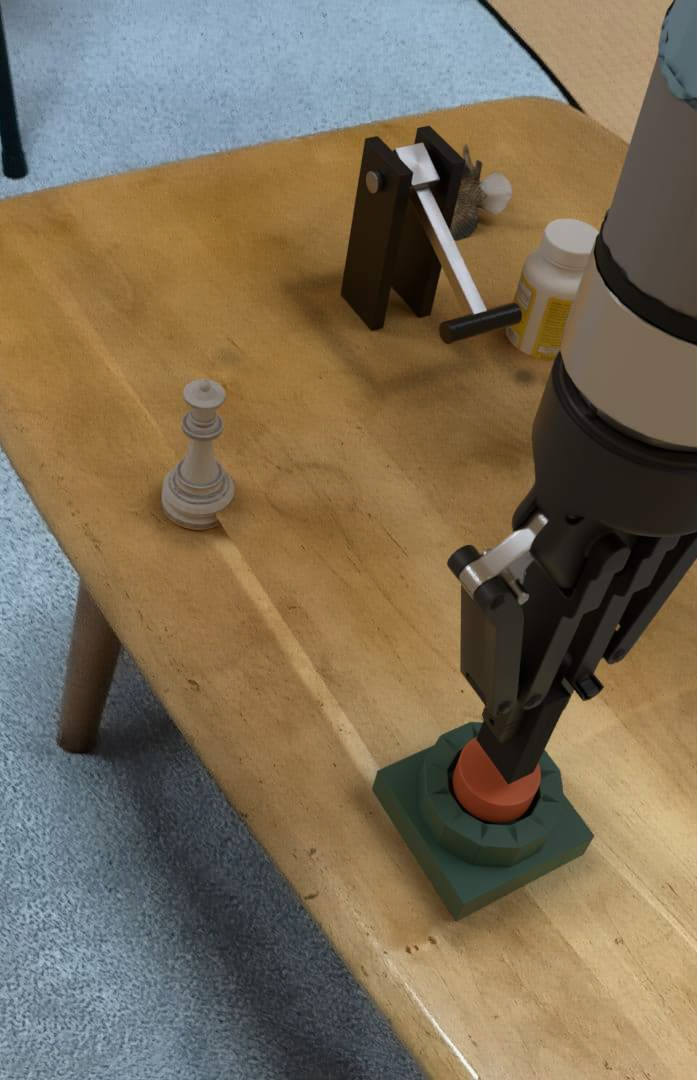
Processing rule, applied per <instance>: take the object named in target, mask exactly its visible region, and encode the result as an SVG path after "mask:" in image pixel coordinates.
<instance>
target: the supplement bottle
mask: <svg viewBox="0 0 697 1080" xmlns="http://www.w3.org/2000/svg"><path fill="white" fill-rule="evenodd" d="M598 234H599V230H598V229H597V228H595V227H594V226H593V225H591V224H589V223H587V222H584V221H582V220H578V219H575V218H557V219H554V220H552V221H551V222H549V223H548V224H546V226H545V228H544V230H543V235H542V238H541V240H540V245H539V246H537V247H536V248H535V249H533V250H531V251H530V252H529V254H528V255H527V256H526V257H525V260H524V262H523V266H522V269H521V273H520V276H519V280H518V283H517V287H516V290H515V293H514V296H513V300H512V302H514V303H517V304H518V305H519V307H520V309H521V312H522V320H521V322H520V323H519V324H517V325H513V326H510V327H506V328H505V334H506V336H507V339H508V340H509V341H510V343H511V344H512V345H513V346H514V347H515V348H516V349H517V350H518V351H521V352H522V353H523V354H526V355H528V356H529V357H532V358H535V359H538V360H544V361H554V360H555V358H556V356H557V354H558V352H559V351H560V347H561V342H562V336H563V331H564V326H565V324H566V321H567V318H568V315H569V312H570V309H571V307H572V304H573V301H574V298H575V295H576V292H577V290H578V287H579V284H580V281H581V278H582V276H583V273H584V270H585V267H586V264H587V261H588V259H589V256H590V253H591V250H592V247H593V245H594V242H595V239H596V236H597V235H598Z"/></svg>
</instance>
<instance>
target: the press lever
mask: <svg viewBox="0 0 697 1080" xmlns="http://www.w3.org/2000/svg"><path fill="white" fill-rule="evenodd" d="M392 151H393V152H394V153H395V154H396V155H397V156H398V157H399V158H400V159H401V160H402V161H403V162H404V163H405V164H406V165H407V166H408V167H409V168H410V169H411V170H412V171H413V178H412V183H411V188H410V193H409V199H408V203H412V204H413V206H414V208H415V210H416V212H417V214H418V217H419V219H420V221H421V223H422V225H423V227H424V229H425V232H426V234H427V236H428V238H429V240H430V242H431V244H432V246H433V249H434V251H435V253H436V255H437V257H438V259H439V261H440V264H441V266H442V268H441V269H442V270H443V272H444V275H445V277H446V278H447V280H448V283H449V285H450V287H451V289H452V292H453V294H454V295H455V298H456V299H457V302H458V304H459V306H460V308H461V311H462V313H463V315H462V316H459V317H455V318H452V319H448V320H444V321H442V322H440V324H439V327H438V333H439V336H440V339H441V341H442V343H444V344H445V345H451V344H455V343H457V342H461V341H465V340H468V339H472V338H475V337H479V336H482V335H486V334H489V333H492V332H495V331H500V330H503V329H506V327H510V326H513V325H517V324H519V323H520V322H521V320H522V312H521V309H520V307H519V305H518V304H517V303H514V302H513V301H512V302H509V303H505V304H501V305H497V306H495V307H491V308H487V306H486V304H485V302H484V300H483V298H482V296H481V293H480V292H479V290H478V287H477V286H476V283H475V281H474V279H473V277H472V275H471V273H470V270H469V268H468V266H467V264H466V262H465V260H464V258H463V255H462V253H461V252H460V249H459V247H458V245H457V242H456V241H454V239H453V237H452V234H451V232H450V230H449V228H448V226H447V224H446V222H445V220H444V217H443V215H442V213H441V211H440V209H439V207H438V205H437V203H436V201H435V198H434V196H433V194H432V190H433V189H434V188H435V186H436V185H437V183H438V182H439V181H440V177H439V175H438V173H437V171H436V169H435V167H434V165H433V163H432V160H431V158H430V156H429V154H428V152H427V150H426V148H425V146H424V144H423V143H418V144H414V143H413V144H409V145H404V146H399V147H395V148H393V149H392Z"/></svg>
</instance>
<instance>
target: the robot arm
mask: <svg viewBox="0 0 697 1080" xmlns="http://www.w3.org/2000/svg"><path fill="white" fill-rule="evenodd" d="M657 45H658V51H657V54H656V58H655V61H654V66H653V68H652V72H651V75H650V78H649V81H648V84H647V88H646V91H645V95H644V98H643V101H642V104H641V107H640V111H639V112H638V113H639V114H638V116H637V120H636V123H635V127H634V130H633V133H632V136H631V140H630V142H629V146H628V148H627V152H626V155H625V159H624V162H623V165H622V168H621V172H620V175H619V178H618V182H617V185H616V188H615V190H614V194H613V197H612V201H611V204H610V207H609V208H608V209H607V210H606V211H605V214H604V217H603V221H602V223H601V224H600V228H599V230H598V232H599V234H598V235H597V236H596V239H595V242H594V245H593V247H592V250H591V253H590V256H589V259H588V261H587V264H586V267H585V270H584V273H583V276H582V278H581V281H580V284H579V287H578V290H577V292H576V295H575V298H574V301H573V304H572V307H571V309H570V312H569V315H568V318H567V321H566V324H565V326H564V331H563V336H562V342H561V347H560V351H559V352H558V354H557V356H556V358H555V360H553V364H552V366H551V369H550V372H549V375H548V378H547V381H546V383H545V387H544V389H543V393H542V395H541V399H540V402H539V405H538V407H537V411H536V413H535V416H534V419H533V423H532V429H531V449H532V457H533V466H534V483H533V485H532V486H531V488H530V490H529V491H528V493H527V494H526V495H525V497H523V499H522V500H521V501H520V503H519V504H518V505H517V507H516V508H515V510H514V512H513V515H512V519H511V530H512V533H510V534H509V535H508V536H507V537H506V538H504V539H503V540H501V542H499V543H498V544H496V545H495V546H494V547H489V548H486V549H485V550H483V551H482V552H481V553H480V552H479V550H478V549H477V547H476V546H474V545H472V544H466V545H463V546H461V547H459V548H457V549H456V550H455V551H454V552H453V553H452V554H451V555H450V556H449V558H447V562H446V565H447V568H448V569H449V570H450V572H451V573H452V574H453V575H454V577H455V578H456V579H457V581H458V582H459V584H460V645H459V646H460V647H459V648H460V653H459V655H460V657H459V659H460V661H459V671H460V674H461V675H462V677H464V678H465V680H466V681H467V683H468V685H469V686H470V687H471V688H472V689H473V691H474V693H475V694H476V695H477V697H478V698H479V700H480V701H481V702H482V703H483V705H484V707H483V710H482V712H481V716H482V720H483V721H482V726H481V728H480V731H479V733H478V736H477V738H476V740H477V741H478V743H479V744H480V746H481V747H482V748H483V750H484V751H485V753H486V754H487V756H488V757H489V758H490V760H491V761H492V763H493V764H494V765H495V767H496V768H497V770H498V771H499V772H500V774H501V775H502V777H503V778H504V779H505V781H506V782H507V784H508V785H509V784H511V783H513V782H515V781H517V780H519V779H521V778H523V777H525V776H527V775H529V774H531V773H533V772H534V770H535V768H536V766H537V764H538V762H539V760H540V758H541V756H542V754H543V752H544V750H545V751H546V747H547V745H548V744H549V741H550V740H551V737H552V735H553V734H554V731H555V728H557V727H556V726H557V725H558V722H559V720H560V719H561V716H562V714H563V712H564V711H565V709H566V708H567V707H568V704H569V702H570V700H571V698H572V696H573V695H574V692H575V693H576V694H577V695H578V696H579V698H580V700H581V701H582V702H587V701H590V700H592V699H593V698H595V697H596V696H597V695H599V694H600V693H601V692H602V691H603V690H604V688H605V686H604V684H602V682H601V681H600V679H599V678H598V677H597V676H596V674H595V672H596V670H597V668H598V667H599V664H600V662H601V660H604V661H605V662H606V663H607V664H608V665H614V664H618V663H620V662H622V660H623V659H625V657H626V656H627V655H628V654H629V653H630V651H631V649H632V648H633V647H634V645H635V644H636V643H637V641H639V639H640V638H641V636H642V635H643V633H644V632H645V631H646V629H647V628H648V626H649V625H650V624H651V622H652V621H653V619H654V618H655V617H656V616H657V614H658V612H659V611H660V610H661V608H662V607H663V606H664V604H666V601H667V600H668V599H669V598H670V596H671V595H672V594H673V592H674V591H675V589H676V588H677V586H678V585H679V584H680V583H681V581H682V579H683V578H684V577H685V576H686V574H687V573H688V571H689V570H690V569H691V567H692V566H693V565H694V563H695V562H696V560H697V0H672V2H671V3H670V5H669V6H668V8H667V9H666V11H665V14H664V18H663V20H662V23H661V27H660V33H659V38H658V44H657ZM618 625H619V627H618ZM617 627H618V629H617Z"/></svg>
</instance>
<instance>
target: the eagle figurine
mask: <svg viewBox="0 0 697 1080" xmlns="http://www.w3.org/2000/svg"><path fill="white" fill-rule="evenodd" d="M470 153H471V152H470V148H469V146H468V144H464V145H463V147H462V158H463V159H464V160H465V161H466V163H465V168H464V172H463V176H462V181H461V185H460V189H459V194H458V198H457V203H456V207H455V211H454V216H453V220H452V224H451V229H450V232H451V234H452V237H453V239H454V241H455V242H457V241H460V240H462V239H463V238H464V237H465V238H467V237H470V236H472V234H473V233H474V232H475V230H476V229H478V225H479V221H478V218H479V215H478V212H479V211H480V210H479V209H482V210H484V211H485V212H487V213H488V214H491V215H493V216H498V215H500V214H501V213H503V212H504V210H505V209H506V207H508V205H509V204H510V203H511V201H512V196H513V193H514V190H513V186H512V184H511V182H510V181H509V179H508V178H507V177H506V176H504V174H502V173H499V172H497V171H495V172H491V173H489V175H487V176H486V177H485V178H483V180H481V175H482V168H483V162H482V161H481V160H479V159H476V160H475V165H474V164H473V161H472V158H471V154H470ZM480 180H481V181H480Z"/></svg>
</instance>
